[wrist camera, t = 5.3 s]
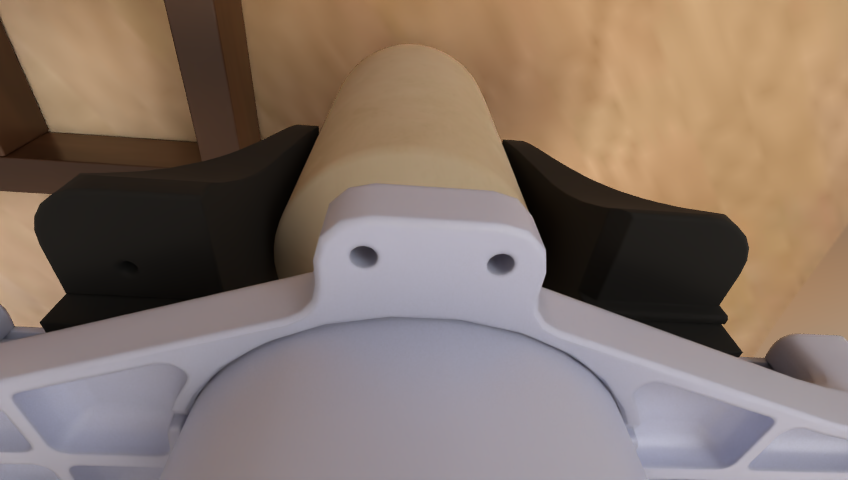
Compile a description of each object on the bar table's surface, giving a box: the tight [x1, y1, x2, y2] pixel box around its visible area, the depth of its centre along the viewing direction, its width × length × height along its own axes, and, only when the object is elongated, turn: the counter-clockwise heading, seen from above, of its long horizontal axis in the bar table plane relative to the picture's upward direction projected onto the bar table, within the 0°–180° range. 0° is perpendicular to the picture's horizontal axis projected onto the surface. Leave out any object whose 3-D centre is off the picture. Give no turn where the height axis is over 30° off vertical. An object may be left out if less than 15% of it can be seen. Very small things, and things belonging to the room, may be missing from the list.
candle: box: [274, 44, 529, 279], centre depth 12 cm, size 6×6×10 cm
